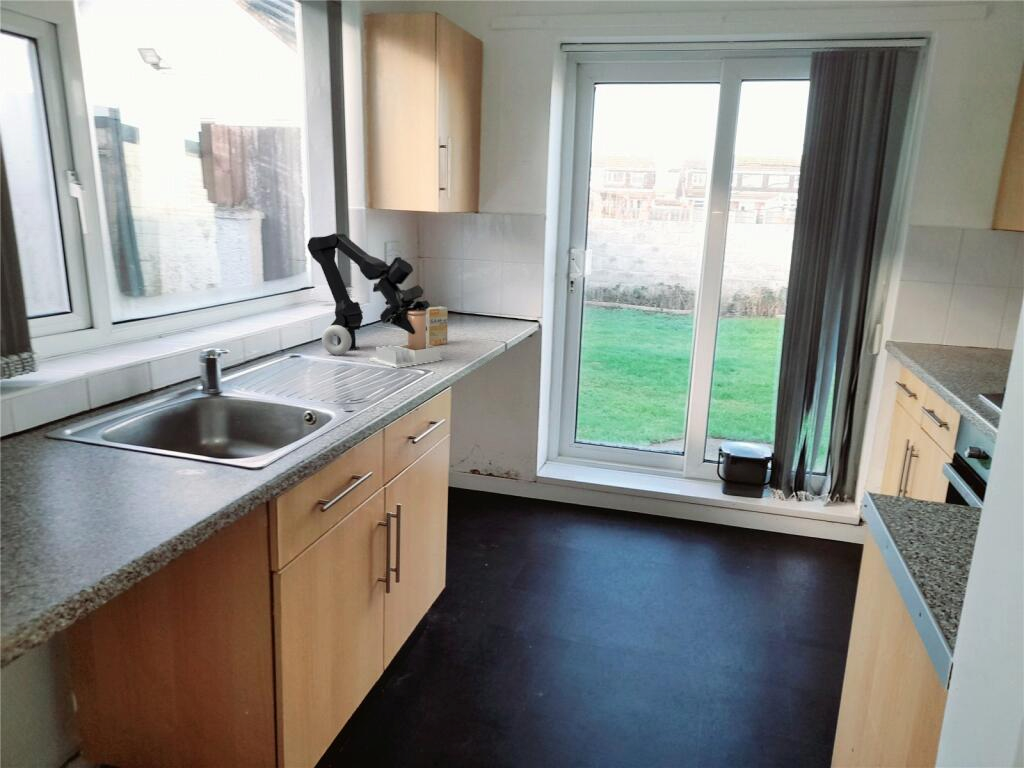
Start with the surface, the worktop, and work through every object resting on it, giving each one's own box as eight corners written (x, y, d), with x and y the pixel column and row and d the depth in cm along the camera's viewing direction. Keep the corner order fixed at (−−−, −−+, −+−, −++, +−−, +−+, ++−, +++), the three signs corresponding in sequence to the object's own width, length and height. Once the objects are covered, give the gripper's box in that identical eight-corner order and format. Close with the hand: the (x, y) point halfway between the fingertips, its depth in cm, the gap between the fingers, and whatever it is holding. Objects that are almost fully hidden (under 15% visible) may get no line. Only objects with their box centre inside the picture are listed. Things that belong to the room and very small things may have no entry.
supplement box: (429, 346, 249) (428, 309, 246) (421, 344, 253) (420, 307, 250) (448, 343, 255) (448, 307, 251) (440, 341, 258) (440, 305, 255)
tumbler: (405, 350, 229) (405, 310, 225) (422, 349, 231) (422, 309, 228) (411, 354, 224) (411, 313, 220) (428, 353, 226) (428, 312, 223)
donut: (320, 355, 232) (319, 325, 230) (325, 353, 235) (323, 323, 233) (349, 357, 231) (348, 326, 228) (353, 355, 234) (352, 324, 231)
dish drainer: (369, 361, 226) (369, 345, 224) (415, 353, 238) (414, 338, 237) (396, 368, 216) (396, 352, 215) (442, 360, 229) (442, 345, 227)
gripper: (386, 279, 216) (415, 320, 213) (425, 275, 231) (452, 312, 228) (367, 303, 222) (395, 342, 219) (406, 296, 237) (433, 333, 234)
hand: (420, 332), depth 225 cm, fingers closed on tumbler, 6 cm apart
